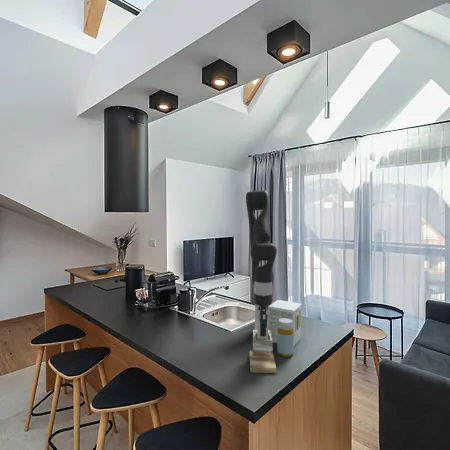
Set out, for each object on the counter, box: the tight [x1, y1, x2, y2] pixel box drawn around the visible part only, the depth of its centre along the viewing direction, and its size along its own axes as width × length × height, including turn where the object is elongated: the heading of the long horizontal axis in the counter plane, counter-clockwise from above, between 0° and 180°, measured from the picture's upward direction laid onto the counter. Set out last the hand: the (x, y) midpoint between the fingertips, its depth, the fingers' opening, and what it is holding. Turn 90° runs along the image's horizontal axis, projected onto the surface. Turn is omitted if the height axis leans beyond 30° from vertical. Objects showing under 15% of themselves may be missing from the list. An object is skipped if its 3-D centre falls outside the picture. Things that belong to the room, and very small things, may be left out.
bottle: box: [276, 318, 295, 358], centre depth 127 cm, size 7×7×15 cm
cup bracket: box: [249, 329, 277, 374], centre depth 119 cm, size 14×10×12 cm
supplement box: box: [268, 299, 303, 347], centre depth 142 cm, size 13×13×18 cm
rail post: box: [257, 313, 268, 340], centre depth 117 cm, size 4×4×12 cm
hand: (262, 333), depth 117 cm, fingers closed on rail post, 4 cm apart
